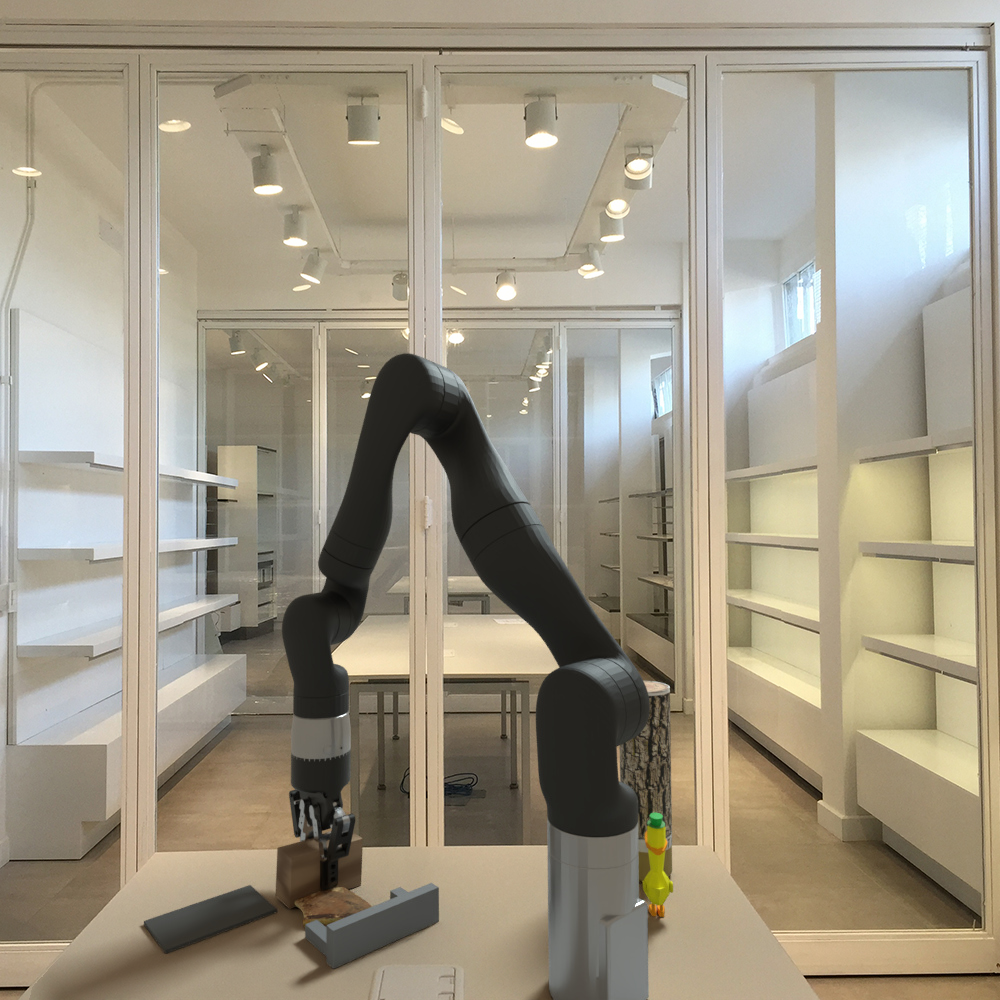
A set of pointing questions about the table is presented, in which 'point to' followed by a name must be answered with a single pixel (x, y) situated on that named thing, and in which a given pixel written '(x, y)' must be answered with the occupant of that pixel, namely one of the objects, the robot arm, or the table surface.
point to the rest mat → (208, 918)
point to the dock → (375, 925)
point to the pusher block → (313, 869)
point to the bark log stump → (651, 772)
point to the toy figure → (656, 865)
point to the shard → (330, 905)
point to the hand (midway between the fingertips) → (320, 880)
